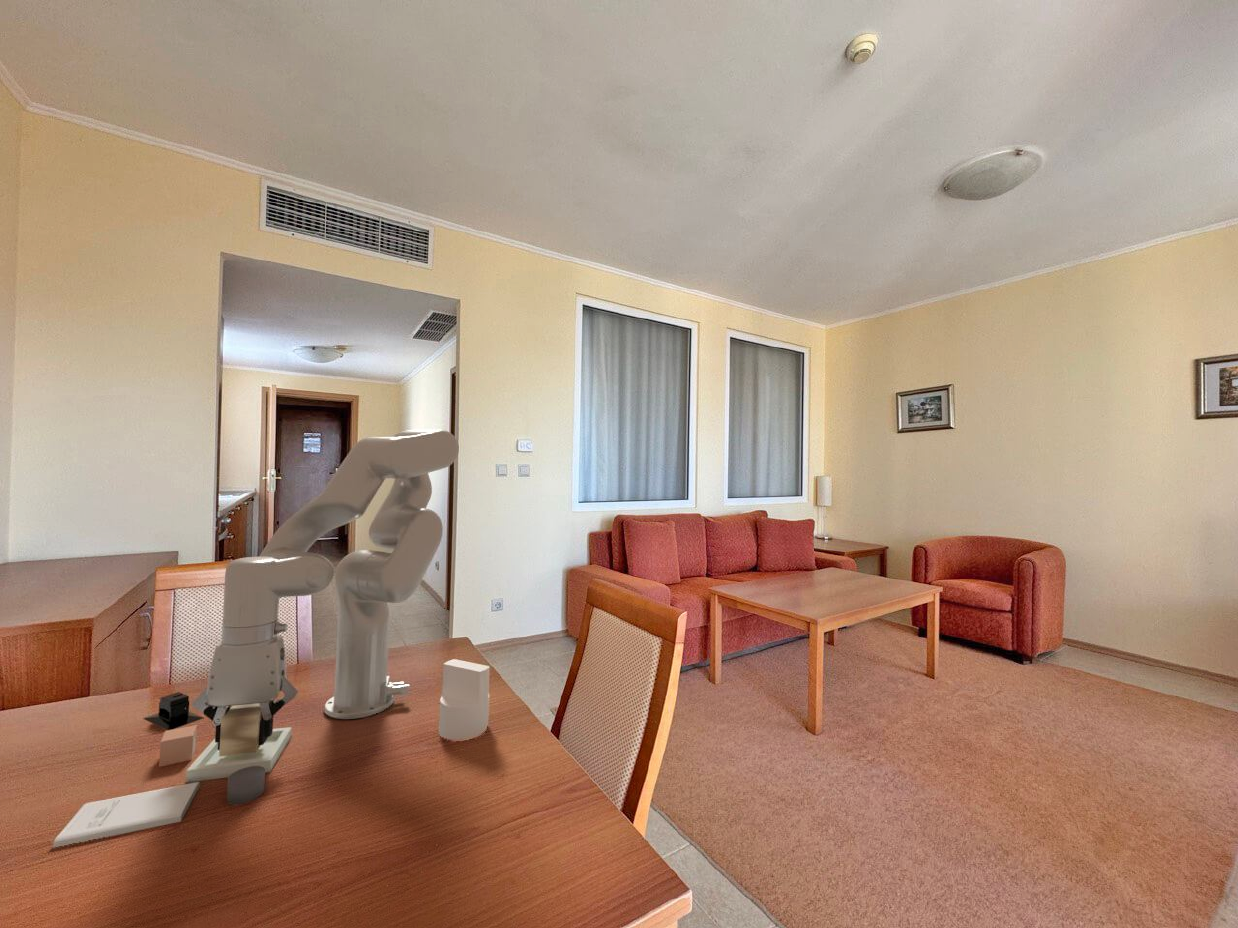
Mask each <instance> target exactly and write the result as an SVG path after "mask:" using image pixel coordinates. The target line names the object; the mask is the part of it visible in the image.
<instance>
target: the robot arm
mask: <svg viewBox="0 0 1238 928" xmlns="http://www.w3.org/2000/svg"><path fill="white" fill-rule="evenodd" d="M459 447H460V445H459V442H458V440H457V438H456V437H455V435H453V434H452V433H451V432H449V431H447V430H445V429H409V430H403V431H399V432H397V433H395V434H394V435H393V436H370V437H365V438H362V439H359V441H356V443H355V444H354V445H353V446H352V448H351V449H350V451H349V452H348V453H347V454H346V457H344V459H343V461H342V462H341V463H340V465H339V467H338V468H337V469H336V471H335V473H333V476H332V477H331V478H330V480H329V481H328V483H327V484H326V486H325V487H324V489H323V490H322V491H321V493H320V494H319V495H318V496H317V497H316V498H314V499H313V500H311V501H310V502H308V503H306V504H305V506H303V507H301V508H300V509H299V510H298V511H297V512H295V513H294V514H293V515H291V516H290V517H289V518H287V520H285V521H284V522H283V523H282V524H281V525H280V526H279V528H278V529H277V530H276V531H275V532H274V534H273V535H272V537H271V538H270V539H269V541H268V542H267V544H266V545H265V546H264V547H263V549H262V551H261V553H260V555H259V556H246V557H240V558H239V557H238V558H236V559H233V560H231V561H230V562H228V563H227V564H226V565H227V566H226V567H225V572H224V573H225V574H224V590H223V591H224V593H223V606H222V607H223V609H222V626H221V627H222V629H221V640H220V641H218V643H216V647H215V649H214V652H213V656H212V658H211V664H210V668H209V674H208V679H207V685H206V686H207V687H206V688H204V690H202V692H201V693H199V695H198V696H197V697H196V698H195V699H194V701H192V703H191V706H192V708H193V709H195V710H197V711H199V712H201V713H203V715H204V716H206V717H207V718H208V719H209V720H211V721H212V724H213V725H214V726H215V735H214V739H215V743H217V742H218V750H220V733H221V718H222V717H223V716H224V715H225V714H226V713H227V712H228V711H229V710H230V709H231V708H232V706H234V705H245V704H256V703H259V705H260V709H261V712H262V720H261V721H260V729H259V745H263V744H264V743H265V741H266V740H267V738H268V737H270V736H271V735H272V731H273V729H274V728H273V727H274V716H275V715H276V714H277V713H278V712H279V711H280V710H281V709H282V708H283V707H284V706H285V705H287V704H288V703H290V702H291V701H292V700H293V699H295V698H296V697H297V696H298V693H299V691H298V690H297V689H296V688H295V686H293V684H292V683H291V682H290V681H289V680H288V678H287V659H286V658H287V657H286V647H285V646H286V645H285V641H284V637H283V635H280V633H286V632H287V630H288V623H282V622H280V618H279V609H280V599H281V598H288V597H290V598H292V597H307V596H312V595H316V594H318V593H320V592H322V591H323V590H325V589H326V588H327V587H328V586H329V585H330V584H331V582H332V581H333V579H334V584H335V591H336V597H337V599H336V600H337V606H338V607H337V610H338V612H337V613H338V618H337V620H338V621H337V634H336V636H337V637H336V652H335V653H336V654H335V656H336V658H335V670H334V672H335V673H334V693H333V696H331V698H329V699H328V700H327V701H326V702H325V703H324V713H325V714H326V715H327V716H329V717H331V718H333V719H339V720H354V719H355V720H356V719H361V718H367V717H370V716H374V715H376V713H377V714H379V713H381V712H383V711H385V710H387V709H388V708H390V706H392V705H393V703H394V699H395V696H404V695H405V696H406V695H407V696H408V695H409V692H410V684H405V681H398V682H393V681H390V675H388V658H389V656H388V655H389V639H390V637H389V636H390V624H391V623H390V622H391V620H390V609H389V605H388V603H389V604H390V603H391V604H400V603H402V602H405V601H407V600H408V599H410V598H411V597H412V596H413V595H414V594H415V592H416V591H417V590H418V589H419V587H420V585H421V583H422V581H423V579H424V577H425V575H426V573H427V571H428V570H429V566H430V565H431V563H432V561H433V559H434V557H435V555H436V553H437V551H438V548H439V546H440V544H441V541H442V537H443V531H444V530H443V529H444V528H443V527H444V526H443V522H442V519H441V518H440V516H439V515H438V513H437V512H435V511H434V510H432V509H430V508H427V507H428V504H429V502H430V500H431V497H432V493H433V486H432V480H431V478H430V475H429V473H432V472H436V471H439V470H443V469H446V468H448V467H449V466H451V465H453V463H455V461H456V460H457V458H458V455H459V452H460V448H459ZM386 479H394V482H393V484H392V486H391V488H390V490H389V492H388V494H387V496H386V498H385V499H384V501H383V502H382V504H381V506H380V507H379V509H378V511H377V513H375V516H374V518H373V520H372V521H371V524H370V525H369V529H368V536H369V537H368V538H369V540H370V541H371V543H372V544H373V545H375V546H376V547H379V548H382V549H386V550H390V551H391V550H392V552H387V551H386V552H385V551H379V550H378V551H377V550H372V549H360V550H355V551H352V552H350V553H349V554H347V555H345V556H344V557H343V558H342V559H341V560H340V561H339V563H338V565H337V567H336V568H335V571H334V566H333V563H332V562H331V560H330V559H328V557H326V556H324V555H322V554H319V553H315V552H310V551H309V549H310V548H311V547H312V546H313V544H314V543H315V542H317V541H318V540H319V539H320V538H321V537H322V536H324V535H325V534H327V533H328V532H330V531H332V530H334V529H336V528H340V527H342V526H344V525H347V524H349V523H351V522H353V521H356V520H358V519H360V518H361V517H363V515H364V514H365V513H366V511H367V510H368V507H370V504H371V503H372V501H373V499H374V498H375V496H376V494H377V493H378V491H379V490H380V488H381V486H382V485H383V483H384V481H385V480H386ZM308 551H309V552H308ZM278 634H279V635H278ZM280 692H282V693H283V696H282V697H280V698H278V697H279V694H280ZM276 699H278V700H276ZM275 700H276V701H275ZM386 708H387V709H386ZM384 709H385V710H384ZM382 710H383V711H382ZM373 714H374V715H373Z"/></svg>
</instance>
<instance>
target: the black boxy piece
mask: <svg viewBox="0 0 1238 928" xmlns="http://www.w3.org/2000/svg"><path fill="white" fill-rule="evenodd" d="M189 697H190V696H189V695H187V694H183V693H182V692H180V691H177V692H175V693H172V694H168V695H165V696H161V697H160V701H159V703H158V713H155V714H152V715H149V716H146V717H143V718H142V719H143V720H145V721H147V722H149V723H151V724H153V725H155V726H157V727H160V728H161V729H164V730H165V731H167V730H173V729H178V728H182V727H183V726H184V727H185V726H186V725H188V724H192V723H195V722H198V721H200V720H202V719H205V718H204V717H203V716H201V715H199V714H196V713H193V712H191V711H190V700H189Z"/></svg>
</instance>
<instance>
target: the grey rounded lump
mask: <svg viewBox="0 0 1238 928" xmlns="http://www.w3.org/2000/svg"><path fill="white" fill-rule="evenodd" d="M265 777H266V772H265V768H264V767H261V766H251V767H246V768H243V769H240V770H238V771H236V772H234V773H233V774H231V775H230V776H229V777H227V790H226V791H227V793H226V802H227V804H229V805H243V804H246V803H250V802H252V801H254V800H256V799H258V798H259V797H261V796H262V795H263V793H264V792H265V780H266V779H265Z"/></svg>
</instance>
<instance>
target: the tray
mask: <svg viewBox="0 0 1238 928" xmlns="http://www.w3.org/2000/svg"><path fill="white" fill-rule="evenodd" d="M292 728H293V727H292V726H290V727H279V728H273V731H272V735H271V736H270V737H268V738H267V740H266V741H265V743H264V744H263V745H261V746H260V747H259V749H258V750H257V752H254V753H245V754H237V755H229V756H220V757H219V750H218V742H217V743H215V738H214V739H213V740H212V741H211V742H210V743H209V744H208V746H207V747H206V748H205V749H204V750H203V751H202V752H201V753H200V754H199V755H198V757H197V758H196V759H195V761H193V762H192V763H191V765H190V766H189V767H188V768H187V769H186V771H185V784H189V783H195V782H203V781H210V780H217V779H224V778H229V776H230V775H231V774H233V773H234V772H236V771H238V770H240V769H243V768H246V767H251V766H261V767H264V768H265V773H271V771H272V770H273V768H274V766H275V765H276V763H277V762H278V760H279V758H280V756H281V755H282V753H283V751H284V750H285V748H286V746H287V745H288V743H289V742H290V740H291V738H292V731H293V729H292Z"/></svg>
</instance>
